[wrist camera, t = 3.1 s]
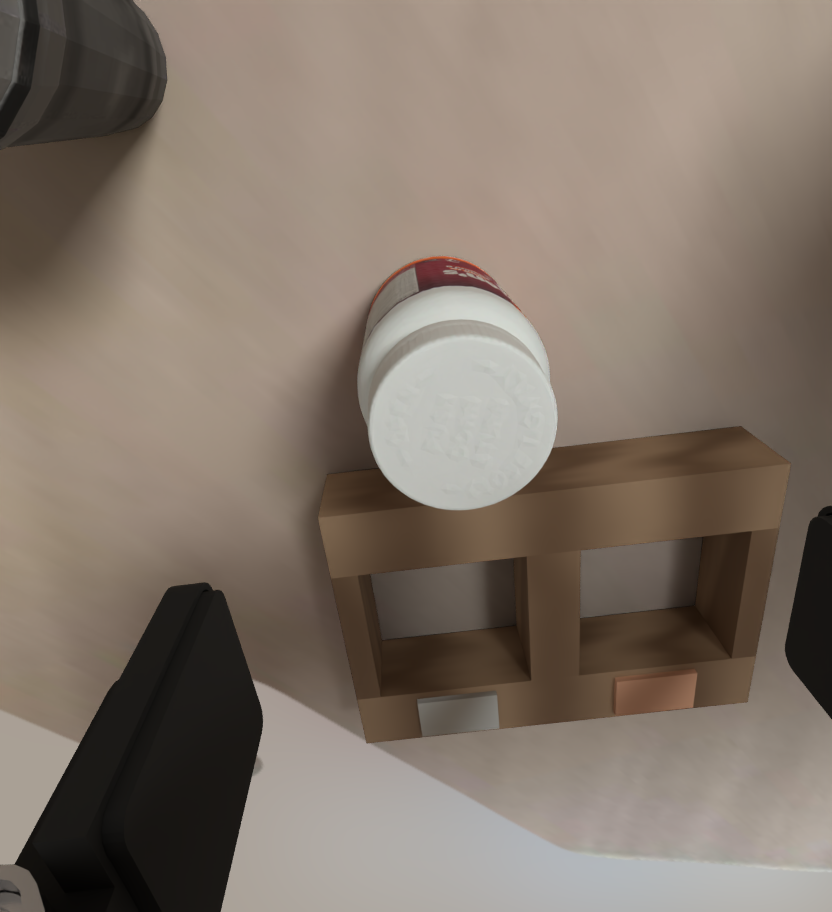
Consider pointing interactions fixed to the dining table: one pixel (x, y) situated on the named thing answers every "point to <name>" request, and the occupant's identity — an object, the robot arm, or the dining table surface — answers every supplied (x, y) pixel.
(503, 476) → the pill bottle
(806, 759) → the dining table surface
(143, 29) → the beverage cup
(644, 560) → the dining table surface
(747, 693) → the socket board
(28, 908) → the robot arm
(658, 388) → the dining table surface
